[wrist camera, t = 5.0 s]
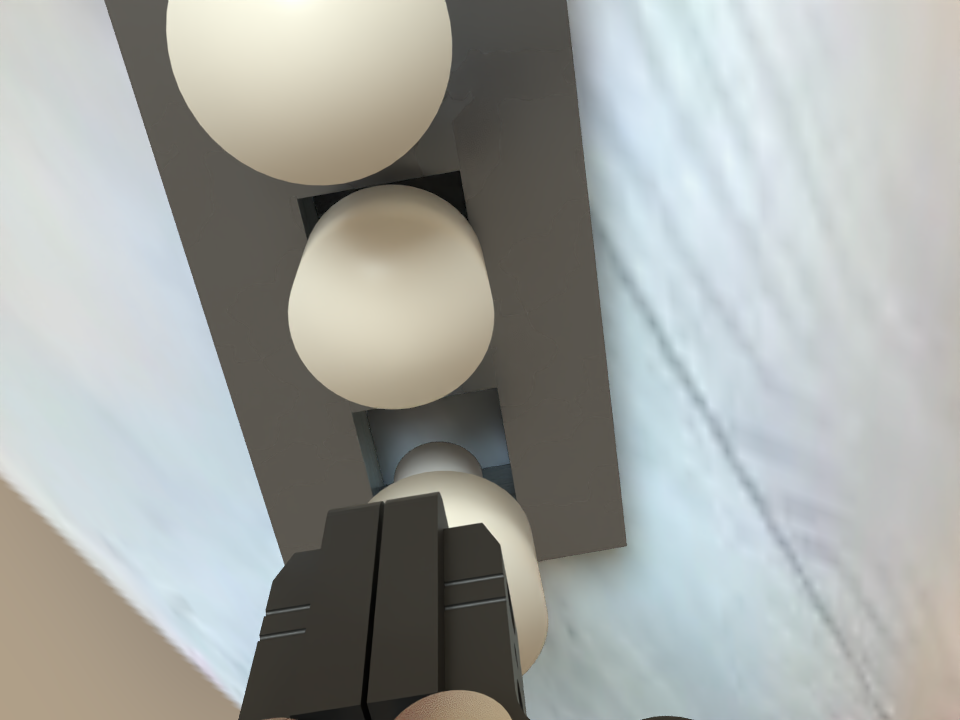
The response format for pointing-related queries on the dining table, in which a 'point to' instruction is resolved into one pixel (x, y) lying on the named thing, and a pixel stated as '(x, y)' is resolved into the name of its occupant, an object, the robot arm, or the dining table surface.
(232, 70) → the knob near
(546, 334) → the mount panel
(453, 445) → the knob far
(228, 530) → the dining table surface
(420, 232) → the knob mid
